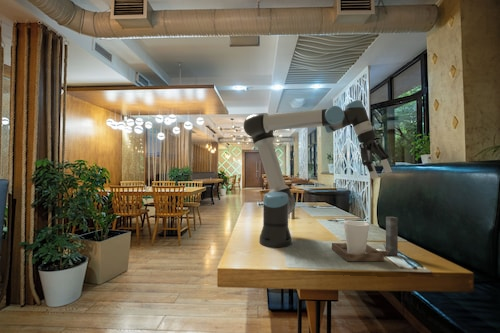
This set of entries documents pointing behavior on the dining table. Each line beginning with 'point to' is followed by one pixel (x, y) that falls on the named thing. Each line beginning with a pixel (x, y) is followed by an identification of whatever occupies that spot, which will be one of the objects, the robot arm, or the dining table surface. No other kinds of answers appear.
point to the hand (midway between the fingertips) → (382, 175)
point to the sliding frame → (373, 253)
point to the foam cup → (356, 236)
